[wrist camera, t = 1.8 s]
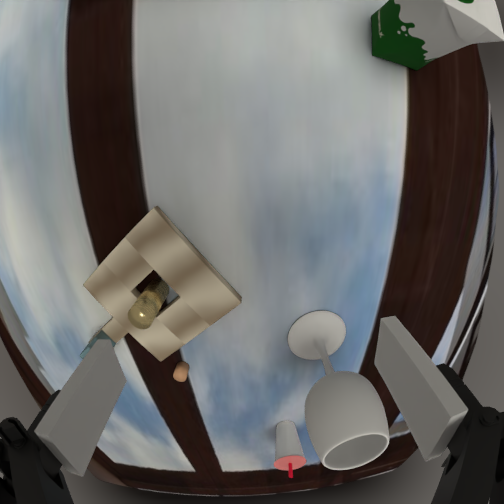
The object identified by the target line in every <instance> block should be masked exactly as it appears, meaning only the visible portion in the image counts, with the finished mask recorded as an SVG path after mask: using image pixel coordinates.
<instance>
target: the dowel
mask: <svg viewBox="0 0 504 504" xmlns="http://www.w3.org/2000/svg"><path fill="white" fill-rule="evenodd" d="M188 370H189V365H188V364H187V363H186V362H183V361H180V362H178V363H177V365H176V368H175V372H174V375H173V377H174V378H175V379H176V380H177V381H180V382H183V381H185V380H186V378H187V374H188Z"/></svg>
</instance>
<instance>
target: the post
mask: <svg viewBox="0 0 504 504" xmlns="http://www.w3.org/2000/svg"><path fill="white" fill-rule="evenodd" d="M168 294H169V287H168V285H167V283H166V282H165V281H163V280H161V279H153V280H152V281H151V282H150V283H149V284H148V285H147V287H146V288H145V289H144V291H143V292H142V293H141V295H140V296H139V297H138V299H137V300H136V301H135V303H134V304H133V305H132V307H131V308H130V310H129V311H128V320H129V322H130V323H131V324H132V325H133V326H134V327H136V328H138V329H147V328H149V327H150V326H151V324H152V322H153V321H154V319H155V317H156V315H157V313H158V311H159V310H160V308H161V306H162V304H163V303H164V301H165V299H166V297H167V296H168Z"/></svg>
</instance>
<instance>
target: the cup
mask: <svg viewBox="0 0 504 504" xmlns="http://www.w3.org/2000/svg"><path fill="white" fill-rule="evenodd" d="M305 463H306V459H305V457H304V454H303V451H302V447H301V444H300V440H299V437H298V434H297V430H296V427H295V424H294V423H293V422H292V421H282V422H280V423H278V424H277V428H276V447H275V463H274V466H275V467H276V468H277V469H280V470H289V477H290V478H293V471H292V470H293V469H297V468H300V467H302V466H303V465H304V464H305Z"/></svg>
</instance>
